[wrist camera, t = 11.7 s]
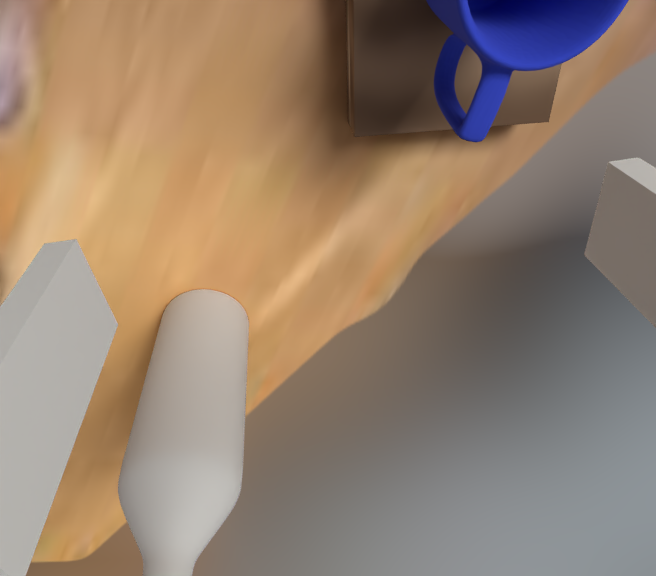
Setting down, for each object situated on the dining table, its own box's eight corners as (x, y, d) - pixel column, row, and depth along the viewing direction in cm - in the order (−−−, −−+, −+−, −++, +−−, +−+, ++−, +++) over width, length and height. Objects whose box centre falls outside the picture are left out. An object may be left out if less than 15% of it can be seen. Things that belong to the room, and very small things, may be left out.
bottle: (250, 351, 49) (237, 751, 25) (169, 354, 48) (72, 772, 24) (247, 286, 44) (225, 701, 20) (156, 288, 44) (19, 726, 19)
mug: (367, 83, 32) (401, 133, 24) (431, -157, 25) (510, -201, 17) (479, 110, 34) (546, 164, 26) (567, -107, 27) (696, -127, 19)
